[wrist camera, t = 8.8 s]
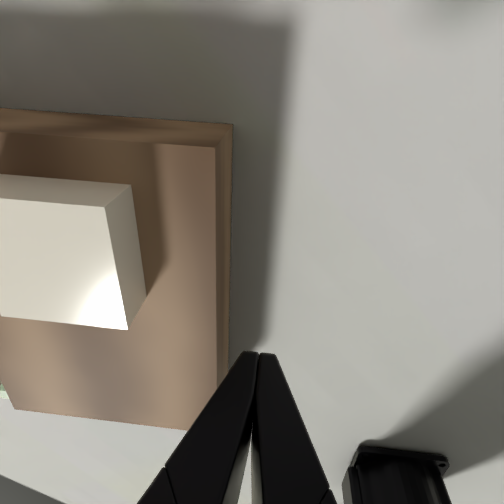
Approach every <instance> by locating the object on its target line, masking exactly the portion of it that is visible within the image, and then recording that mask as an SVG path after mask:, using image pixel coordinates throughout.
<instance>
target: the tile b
mask: <svg viewBox="0 0 504 504" xmlns="http://www.w3.org/2000/svg"><path fill="white" fill-rule="evenodd" d="M146 297H147V295H146V288H145V281H144V273H143V266H142V259H141V252H140V245H139V238H138V231H137V224H136V217H135V209H134V202H133V195H132V188H131V185H129V184H117V183H104V182H92V181H80V180H68V179H56V178H44V177H31V176H19V175H7V174H0V315H1V316H3V317H13V318H22V319H31V320H41V321H50V322H59V323H69V324H78V325H87V326H97V327H106V328H115V329H124V330H128V328H129V327H130V325H131V323H132V321H133V320H134V318H135V316H136V315H137V313H138V311H139V309H140V308H141V306H142V304H143V302H144V301H145V299H146Z"/></svg>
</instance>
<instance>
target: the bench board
mask: <svg viewBox="0 0 504 504" xmlns="http://www.w3.org/2000/svg"><path fill="white" fill-rule="evenodd" d="M232 146H233V124H220V123H206V122H192V121H178V120H164V119H150V118H135V117H121V116H107V115H93V114H79V113H65V112H50V111H36V110H22V109H8V108H0V174H7V175H19V176H31V177H44V178H56V179H68V180H80V181H92V182H104V183H117V184H129V185H131V188H132V195H133V202H134V209H135V217H136V224H137V231H138V238H139V245H140V252H141V259H142V266H143V273H144V281H145V288H146V295H147V297H146V299H145V301H144V302H143V304H142V306H141V308H140V309H139V311H138V313H137V315H136V316H135V318H134V320H133V321H132V323H131V325H130V327H129V328H128V330H124V329H115V328H106V327H97V326H87V325H78V324H69V323H59V322H50V321H41V320H31V319H22V318H13V317H3V316H1V315H0V381H1V383H2V385H3V387H4V389H5V391H6V393H7V395H8V397H9V399H10V401H11V403H12V405H13V407H14V409H17V410H25V411H34V412H42V413H50V414H58V415H66V416H74V417H82V418H90V419H98V420H107V421H115V422H123V423H131V424H139V425H147V426H155V427H163V428H171V429H180V430H189V429H190V427H191V426H192V424H193V423H194V421H195V420H196V418H197V417H198V415H199V414H200V413H201V411H202V410H203V408H204V407H205V405H206V404H207V402H208V401H209V399H210V398H211V397H212V395H213V394H214V392H215V391H216V389H217V388H218V386H219V385H220V384H221V382H222V381H223V379H224V378H225V376H226V375H227V373H228V354H229V302H230V250H231V198H232Z"/></svg>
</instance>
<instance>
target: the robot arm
mask: <svg viewBox="0 0 504 504" xmlns="http://www.w3.org/2000/svg"><path fill="white" fill-rule="evenodd" d="M252 424H253V425H252ZM251 433H252V438H251ZM250 441H251V483H252V504H337V502H336V500H335V497H334V495H333V492H332V490H330V489H329V487H330V486H329V483H328V481H327V478H326V476H325V473H324V471H323V468H322V466H321V464H320V461H319V459H318V456H317V454H316V451H315V449H314V447H313V444H312V442H311V439H310V437H309V434H308V432H307V429H306V427H305V425H304V422H303V420H302V417H301V415H300V412H299V410H298V408H297V405H296V403H295V400H294V398H293V395H292V393H291V390H290V388H289V386H288V383H287V381H286V378H285V376H284V373H283V371H282V369H281V366H280V364H279V361H278V359H277V357H276V355H275V354H271V353H260V354H258V352H253V351H243V352H242V353H241V354H240V356H239V357H238V359H237V360H236V362H235V363H234V365H233V366H232V368H231V369H230V370H229V372H228V373H227V375H226V376H225V378H224V379H223V381H222V382H221V384H220V385H219V386H218V388H217V389H216V391H215V392H214V394H213V395H212V397H211V398H210V399H209V401H208V402H207V404H206V405H205V407H204V408H203V410H202V411H201V413H200V414H199V415H198V417H197V418H196V420H195V421H194V423H193V424H192V426H191V427H190V429H189V430H188V431H187V433H186V434H185V436H184V437H183V439H182V440H181V442H180V443H179V445H178V446H177V447H176V449H175V450H174V452H173V453H172V455H171V456H170V458H169V459H168V460H167V462H166V463H165V468H164V467H163V468H162V469H161V470H160V472H159V473H158V475H157V476H156V478H155V479H154V481H153V482H152V483H151V485H150V486H149V488H148V489H147V490H146V492H145V493H144V494H143V496H142V497H141V499H140V500H139V501H138V503H137V504H237V503H238V498H239V494H240V489H241V485H242V480H243V475H244V471H245V466H246V461H247V457H248V452H249V447H250ZM449 465H450V464H449V462H448V459H447V457H445V456H440V455H432V454H423V453H415V452H407V451H399V450H391V449H383V448H374V447H366V446H362V447H359V448H358V449H357V451H356V453H355V456H354V459H353V461H352V464H351V466H350V467H349V468H348V469H347V471H346V474H345V477H344V479H343V482H342V491H343V499H344V504H452V503H451V500H450V498H449V495H448V492H447V489H446V486H445V484H444V481H443V478H442V476H443V475H444V473H445V472H446V470H447V469H448V467H449Z"/></svg>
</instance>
